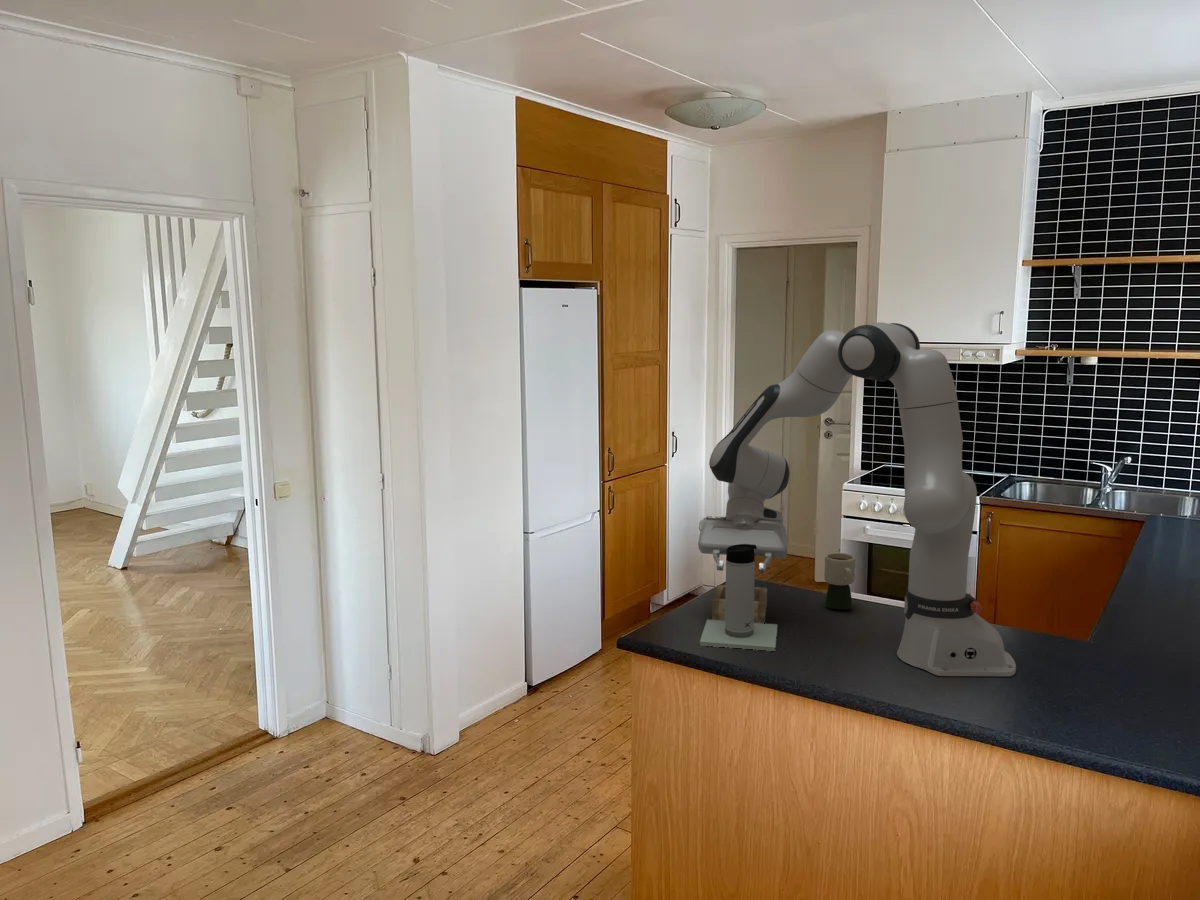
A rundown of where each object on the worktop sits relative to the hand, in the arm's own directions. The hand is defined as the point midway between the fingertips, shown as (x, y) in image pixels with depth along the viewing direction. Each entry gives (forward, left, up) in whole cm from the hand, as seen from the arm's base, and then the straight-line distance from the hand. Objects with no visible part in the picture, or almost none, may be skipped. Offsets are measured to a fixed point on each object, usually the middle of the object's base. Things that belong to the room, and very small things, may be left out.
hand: (740, 570), depth 196 cm
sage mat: (0, +5, -14) cm, 15 cm away
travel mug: (0, +5, -13) cm, 14 cm away
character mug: (-22, -19, -14) cm, 32 cm away
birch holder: (+1, -10, -14) cm, 17 cm away
